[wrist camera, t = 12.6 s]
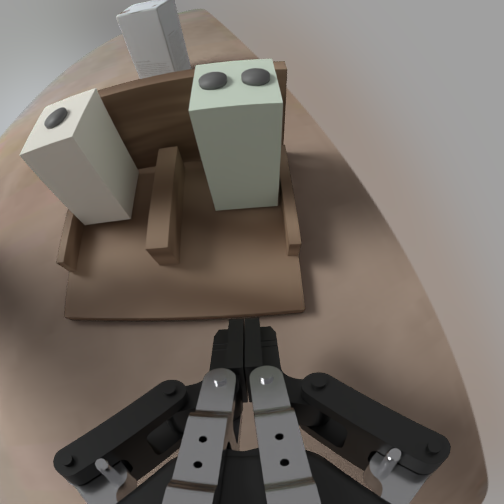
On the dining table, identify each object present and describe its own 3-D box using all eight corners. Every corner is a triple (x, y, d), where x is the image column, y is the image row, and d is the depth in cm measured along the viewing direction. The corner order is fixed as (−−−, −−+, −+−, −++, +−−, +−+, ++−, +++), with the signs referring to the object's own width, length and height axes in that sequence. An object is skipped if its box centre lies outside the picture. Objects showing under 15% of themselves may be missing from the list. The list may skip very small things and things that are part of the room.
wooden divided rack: (303, 312, 20) (333, 260, 11) (70, 319, 21) (-14, 281, 12) (280, 151, 26) (284, 61, 17) (96, 175, 27) (51, 107, 18)
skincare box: (193, 70, 34) (177, -5, 22) (179, 87, 32) (158, 6, 21) (155, 71, 34) (134, 2, 23) (139, 88, 33) (114, 15, 22)
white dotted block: (130, 219, 23) (70, 133, 13) (84, 225, 23) (17, 152, 13) (139, 172, 25) (94, 85, 15) (95, 180, 25) (43, 104, 15)
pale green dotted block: (277, 205, 23) (283, 98, 13) (215, 210, 23) (187, 106, 13) (271, 158, 25) (272, 54, 15) (215, 162, 25) (195, 61, 15)
